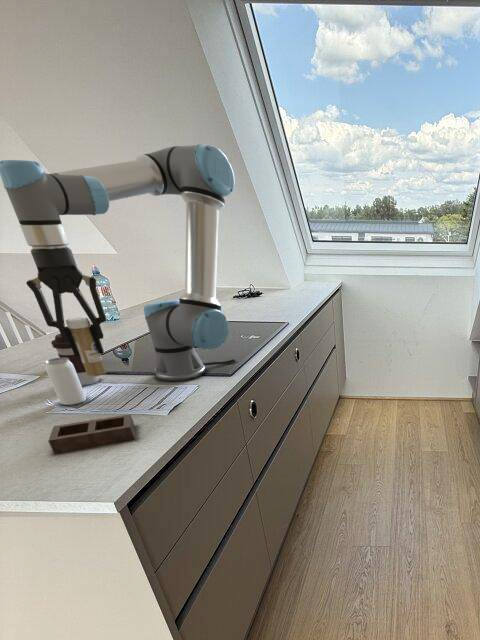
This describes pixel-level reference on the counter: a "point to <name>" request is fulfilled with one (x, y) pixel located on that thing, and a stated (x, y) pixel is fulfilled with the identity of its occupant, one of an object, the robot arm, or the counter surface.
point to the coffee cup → (73, 360)
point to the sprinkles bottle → (86, 346)
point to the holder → (92, 433)
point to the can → (65, 381)
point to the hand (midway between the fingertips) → (89, 353)
